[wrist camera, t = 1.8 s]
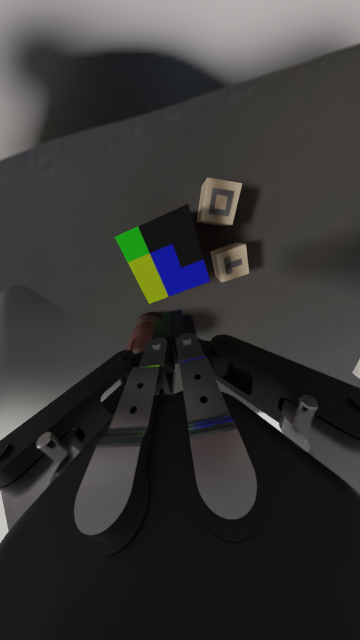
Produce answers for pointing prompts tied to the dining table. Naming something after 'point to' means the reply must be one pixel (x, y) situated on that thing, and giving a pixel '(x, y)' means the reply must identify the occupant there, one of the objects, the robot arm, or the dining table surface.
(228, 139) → the dining table surface
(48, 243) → the dining table surface
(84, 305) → the dining table surface
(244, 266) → the marked block
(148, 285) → the puzzle toy
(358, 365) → the dish rim
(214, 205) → the marked block
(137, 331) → the can
